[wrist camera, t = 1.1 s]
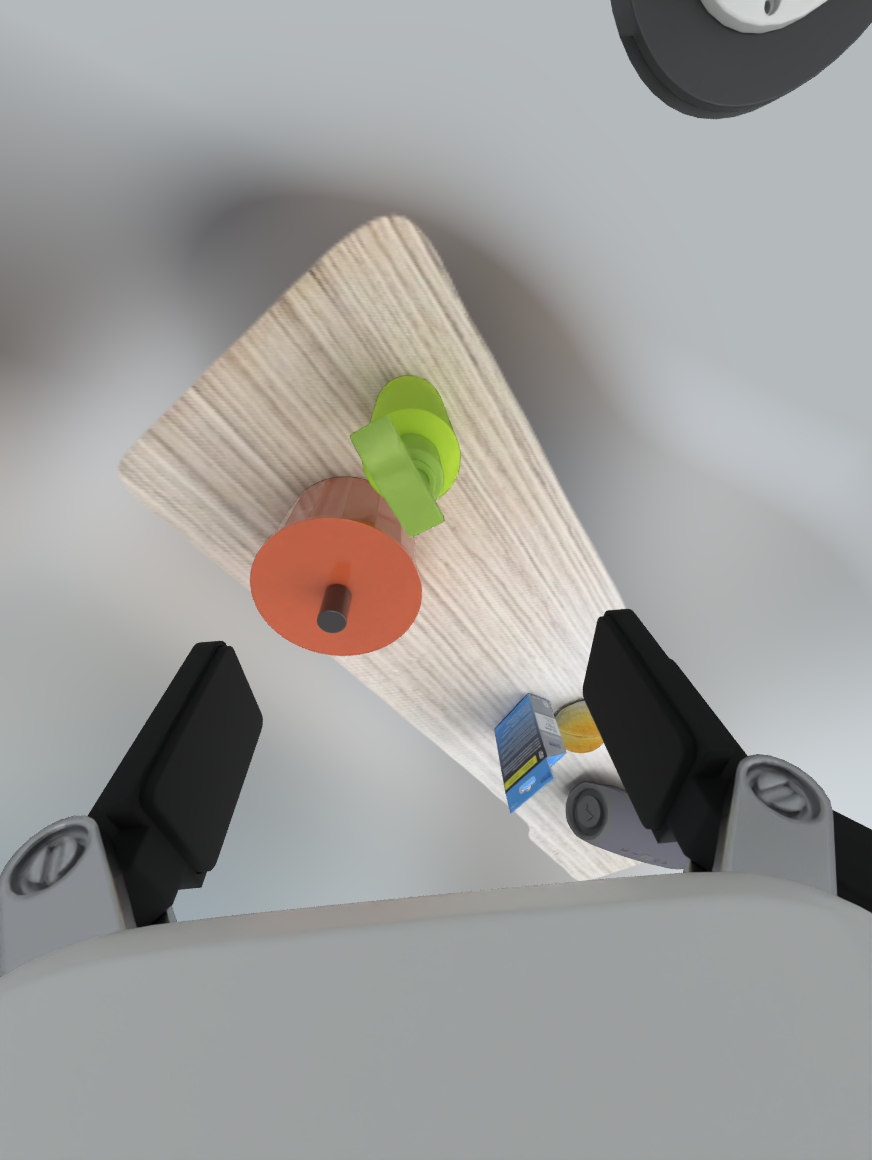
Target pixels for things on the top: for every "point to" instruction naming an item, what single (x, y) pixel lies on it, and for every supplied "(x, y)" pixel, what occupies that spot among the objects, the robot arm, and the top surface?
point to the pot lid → (336, 585)
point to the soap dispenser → (410, 451)
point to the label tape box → (528, 749)
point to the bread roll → (578, 728)
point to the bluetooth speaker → (617, 826)
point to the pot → (349, 506)
